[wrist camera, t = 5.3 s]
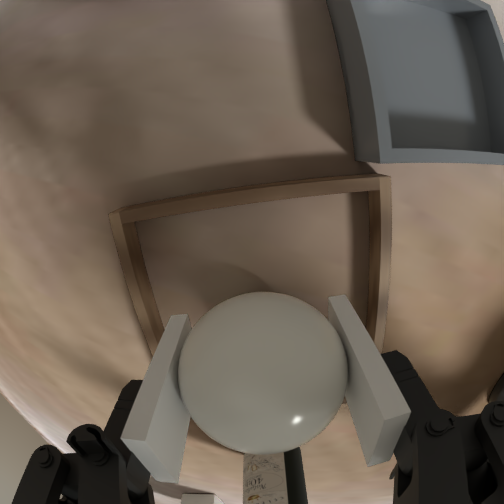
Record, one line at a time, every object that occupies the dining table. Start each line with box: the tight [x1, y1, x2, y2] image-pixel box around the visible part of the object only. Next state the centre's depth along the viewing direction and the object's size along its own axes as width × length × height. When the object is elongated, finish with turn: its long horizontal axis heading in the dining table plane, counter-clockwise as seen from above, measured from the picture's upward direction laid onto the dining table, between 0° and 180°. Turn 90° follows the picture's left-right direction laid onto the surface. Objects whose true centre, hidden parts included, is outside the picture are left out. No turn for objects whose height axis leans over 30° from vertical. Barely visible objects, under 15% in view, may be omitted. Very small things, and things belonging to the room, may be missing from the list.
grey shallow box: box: [326, 0, 504, 165], centre depth 16 cm, size 17×17×5 cm
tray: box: [108, 174, 392, 419], centre depth 25 cm, size 24×22×2 cm
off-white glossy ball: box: [178, 292, 348, 455], centre depth 10 cm, size 6×6×6 cm
